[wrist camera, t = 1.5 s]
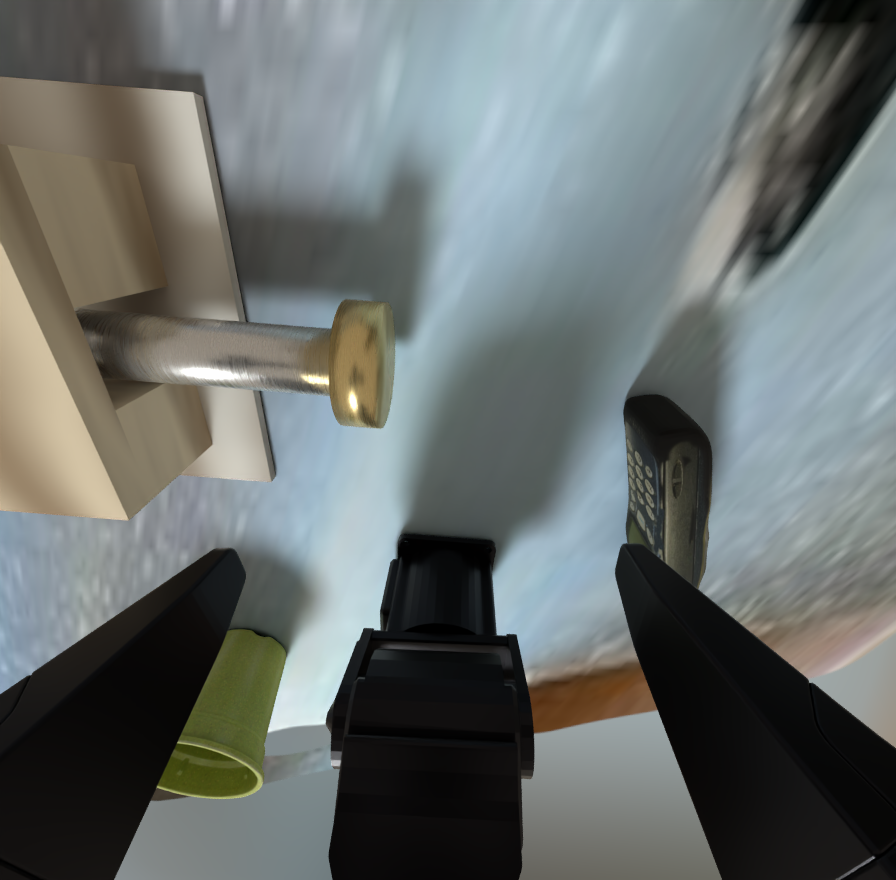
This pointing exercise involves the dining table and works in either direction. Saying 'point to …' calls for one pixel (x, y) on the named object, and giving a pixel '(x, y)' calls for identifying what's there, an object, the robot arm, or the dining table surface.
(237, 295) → the block
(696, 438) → the mobile phone
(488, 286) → the dining table surface
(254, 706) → the plant pot
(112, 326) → the door knob
